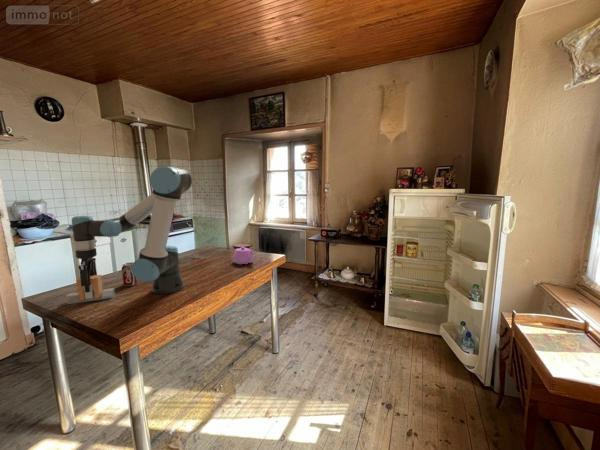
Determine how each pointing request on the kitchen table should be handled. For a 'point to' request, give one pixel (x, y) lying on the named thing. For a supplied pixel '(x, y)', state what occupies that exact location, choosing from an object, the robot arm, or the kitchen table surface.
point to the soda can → (128, 275)
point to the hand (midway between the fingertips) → (91, 295)
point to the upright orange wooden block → (96, 285)
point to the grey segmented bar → (75, 298)
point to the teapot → (243, 256)
